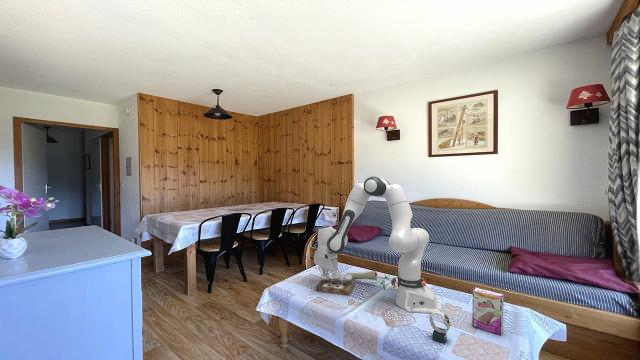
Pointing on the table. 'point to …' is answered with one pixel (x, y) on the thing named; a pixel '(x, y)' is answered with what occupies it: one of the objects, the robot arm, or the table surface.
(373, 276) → the flower vase
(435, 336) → the watch
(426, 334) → the table surface
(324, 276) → the outer button
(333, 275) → the middle button
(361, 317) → the table surface
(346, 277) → the inner button
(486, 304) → the candy bar box
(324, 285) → the button board
